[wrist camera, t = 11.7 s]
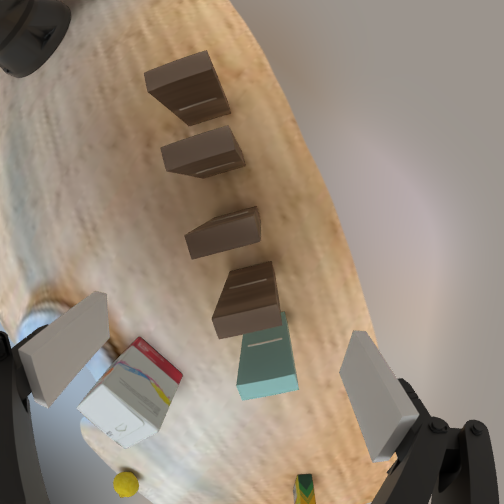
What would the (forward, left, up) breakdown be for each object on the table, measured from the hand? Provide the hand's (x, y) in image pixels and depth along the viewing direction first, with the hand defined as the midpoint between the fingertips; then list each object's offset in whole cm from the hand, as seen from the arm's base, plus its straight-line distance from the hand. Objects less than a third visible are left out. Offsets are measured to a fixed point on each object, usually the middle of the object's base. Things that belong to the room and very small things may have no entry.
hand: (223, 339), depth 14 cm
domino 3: (-4, 0, -20) cm, 20 cm away
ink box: (+13, -19, -20) cm, 30 cm away
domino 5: (+9, 0, -20) cm, 22 cm away
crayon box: (+48, -2, -20) cm, 52 cm away
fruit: (+41, -38, -20) cm, 59 cm away
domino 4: (+2, 0, -20) cm, 20 cm away
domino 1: (-17, 0, -20) cm, 26 cm away
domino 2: (-11, 0, -20) cm, 22 cm away
